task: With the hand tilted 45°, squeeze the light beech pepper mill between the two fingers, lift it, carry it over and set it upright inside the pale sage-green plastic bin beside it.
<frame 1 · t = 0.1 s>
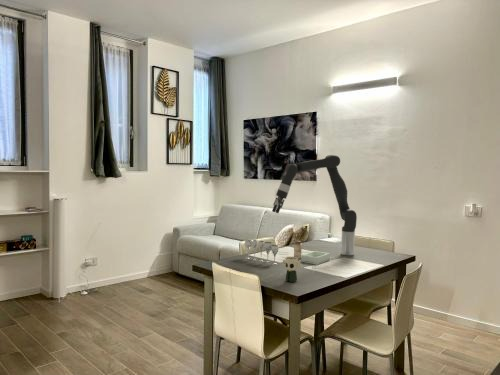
hand: (275, 212, 278), 31 cm above the table, tool tilted 20°, fingers open, 8 cm apart
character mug: (291, 281, 218), on the table
bin: (315, 260, 269), on the table
goblet set: (260, 261, 266), on the table
pepper mill: (297, 258, 275), on the table
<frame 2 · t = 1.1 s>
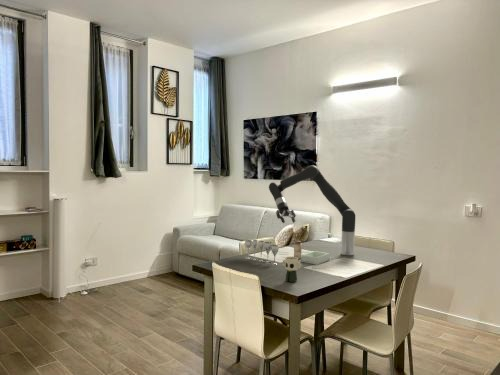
hand: (289, 222, 285), 24 cm above the table, tool tilted 45°, fingers open, 8 cm apart
nothing on the table moved.
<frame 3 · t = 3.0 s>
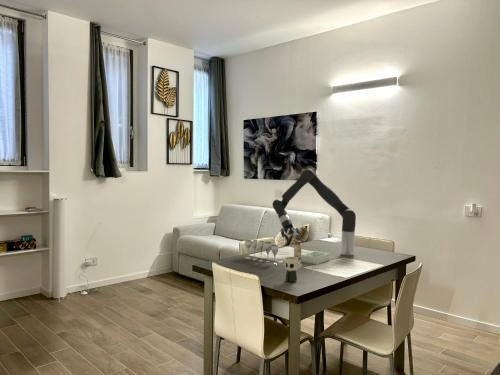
hand: (293, 240, 280), 11 cm above the table, tool tilted 45°, fingers open, 8 cm apart
nothing on the table moved.
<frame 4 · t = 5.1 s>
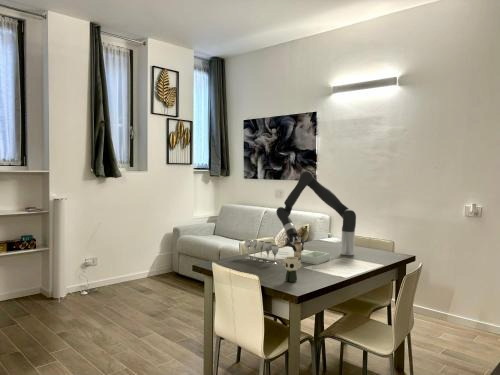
hand: (299, 250, 273), 6 cm above the table, tool tilted 45°, fingers closed on pepper mill, 5 cm apart
pepper mill: (297, 258, 275), on the table, touching gripper
everything else where it was.
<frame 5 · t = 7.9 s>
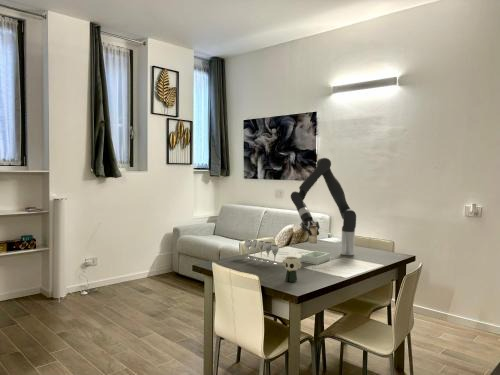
hand: (314, 234, 268), 18 cm above the table, tool tilted 45°, fingers closed on pepper mill, 5 cm apart
pepper mill: (312, 242, 270), point 12 cm above the table, touching gripper
everything else where it was.
when the fingers open (9 cm above the table, at t = 10.9 s): pepper mill drops 2 cm, resting on bin.
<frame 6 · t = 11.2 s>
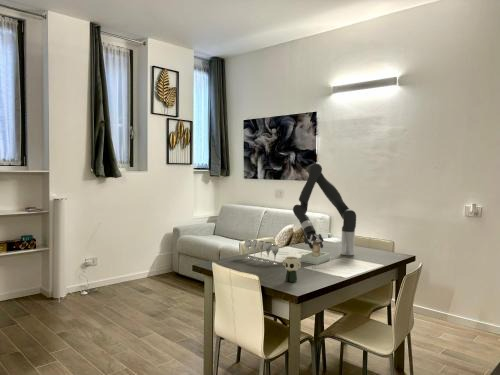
hand: (317, 247, 267), 9 cm above the table, tool tilted 45°, fingers open, 7 cm apart
pepper mill: (315, 259, 269), point 1 cm above the table, touching bin
everything else where it was.
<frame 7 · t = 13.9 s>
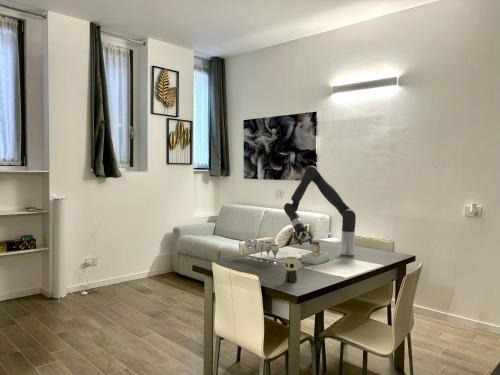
hand: (306, 244, 279), 9 cm above the table, tool tilted 45°, fingers open, 8 cm apart
nothing on the table moved.
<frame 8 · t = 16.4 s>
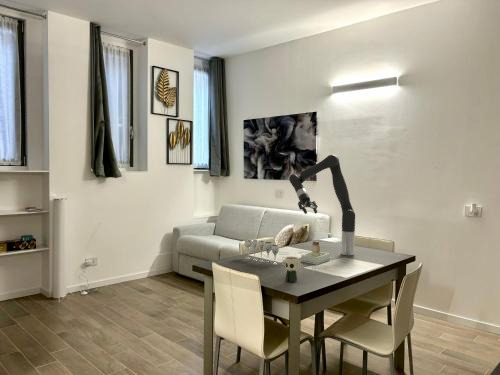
hand: (311, 213, 284), 31 cm above the table, tool tilted 45°, fingers open, 8 cm apart
nothing on the table moved.
at the end: pepper mill inside the target area on the bin (0.1 cm from its centre), point 1.0 cm above the bin's base; pepper mill tilted 0°; the gripper is holding nothing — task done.
